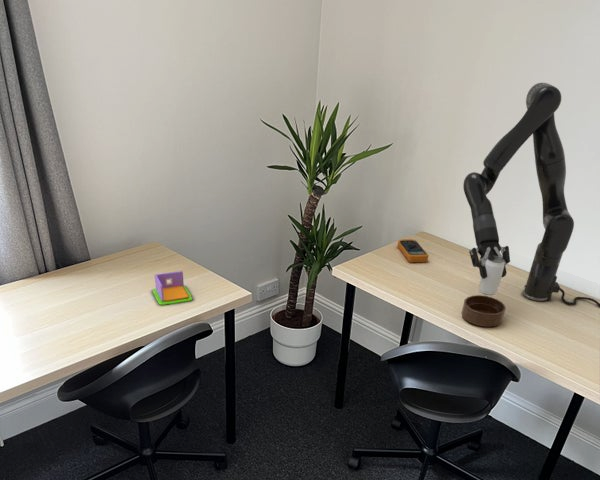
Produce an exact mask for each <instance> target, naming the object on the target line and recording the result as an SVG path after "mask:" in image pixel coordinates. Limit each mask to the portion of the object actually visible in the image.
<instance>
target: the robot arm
mask: <svg viewBox="0 0 600 480" xmlns="http://www.w3.org/2000/svg"><path fill="white" fill-rule="evenodd" d="M525 98H526V99H525V105H526V111H525V113H524V114H523V116H522V117H521V118H520V119H519V121H518V122H517V123H516V124H515V125H514V126H513V127H512V128H511V129H510V130H508V132H507V133H506V134H505V135H503V136H502V137H501V138H500V139H499V140H498V141H497V143H496V144H494V146H493V147H492V148H491V150H490V151H489V153H488V154H487V155H486V156H485V158H484V160H483V162H482V164H483V169H482V171H481V173H479V172H476V171H474V172H470V173H468V174H467V175H466V176H465V178H464V179H463V186H462V188H463V192H464V196H465V198H466V201H467V203H468V205H469V208H470V214H471V219H472V229H473V233H474V239H475V244H476V245H475V246H476V247H473V248H471V249H470V250H469V256H470V259H471V264H472V267H474V268H478V269H479V270H478V271H479V275H480V278H481V277H482V279H485V278H486V277H487V272H486V267H485V266H484V265H485V262H486V260H487V258H488V256H490V257H494V256H499V257H502V258H503V259H504V260H505V261H504V269H503V273H502V277H501V278H505V277H506V276H507V267H506V265H508V264H509V263H510V262H511V257H510V256H511V255H510V247H509V245H505V246H501V245H500V237H499V231H498V227H497V226H498V225H497V221H496V218H495V213H494V208H493V205H492V202H491V200H490V199H489V198H488V197H487V195H489V193H490V192H491V191H492V189H493V188H494V186H495V184H496V182H497V180H498V178H499V176H500V174H501V172H502V171H503V170H504V169H505V167H506V166H507V165H508V164H509V163H510V161H511V160H512V159H513V157H514V156H515V155H516V154H517V152H518V151H519V150H520V148H521V147H522V146H524V144H525V143H526V141H527V140H528V139H529V138H531V136H532V142H533V153H534V163H535V171H536V176H537V177H536V178H537V182H538V186H539V191H540V193H541V200H542V226H543V228H544V233H543V237H542V239H541V241H540V242H539V243H538V244H537V246H536V250H535V253H534V257H533V259H532V263H531V266H530V270H529V273H528V277H527V280H526V284H525V285H524V286H523V292H522V294H523V296H524V297H525V298H527V299H528V300H531V301H536V302H546V301H550V300H551V298H552V294H553V293H555V294H556V293H559V292H561V297H560V298H561V301H562V303H564V304H566V305H571V306H573V305H574V306H575V305H576V304H577V300H586V301H591V302H592V303H594V304H596V305H597V306H598V307H599V308H600V302H599V301H598V300H596V299H594V298H591V297H587V296H576V297H574V298H573V302H572V301H568V300H566V299H565V298H564V297H565V294H566V292H565V290H563V289H562V288H561V286H560V284H559V282H558V281H557V279H558V276H557V272H558V269H559V266H560V264H561V261H562V257H563V255H564V252H566V250H567V247H568V246H569V242H570V241H571V238H572V234H573V231H574V228H575V221H574V218H573V217H572V215H571V214H570V212H569V209H568V206H567V201H566V197H565V185H566V178H567V165H566V157H565V149H564V146H563V143H562V140H561V137H560V135H559V131H558V129H557V126H556V120H555V113H556V111H558V109H559V108H560V105H561V103H562V92H561V91H560V89H559V88H558V87H556V86H554V85H552V84H551V83H547V82H538V83H535V84H533V85H532V86H531V88H529V90H528V92H527V94H526V97H525ZM479 256H480V257H479Z"/></svg>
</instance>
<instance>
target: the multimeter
mask: <svg viewBox="0 0 600 480" xmlns="http://www.w3.org/2000/svg"><path fill="white" fill-rule="evenodd" d="M397 248H398V249H399V251H401V253H402V254H403V255H404V256H405V258H406V260H407V261H408V262H409V263H426V262H428V259H429V254H428V253H427V252H426V251H425V249H424V248H423V247H422V246H421V244H420V243H419V242H418V240H416V239H412V238H402V239H401V238H400V239H399V240H397Z"/></svg>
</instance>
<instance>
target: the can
mask: <svg viewBox="0 0 600 480" xmlns="http://www.w3.org/2000/svg"><path fill="white" fill-rule="evenodd" d="M504 261H505V260H504V259H503V258H502V257H499V256H494V257H490V256H488V258H487V260H486V262H485V265H484V266H485V267H486V272H487V277H486V278H485V279H482V277H481V276H480V280H479V284H478V288H477V289H478V291H479V293H481V294H482V295H484V296H494V295H496V294H497V293H498V290H499V287H500V284H501V280H502V278H503V277H502V273H503V269H504Z"/></svg>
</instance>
